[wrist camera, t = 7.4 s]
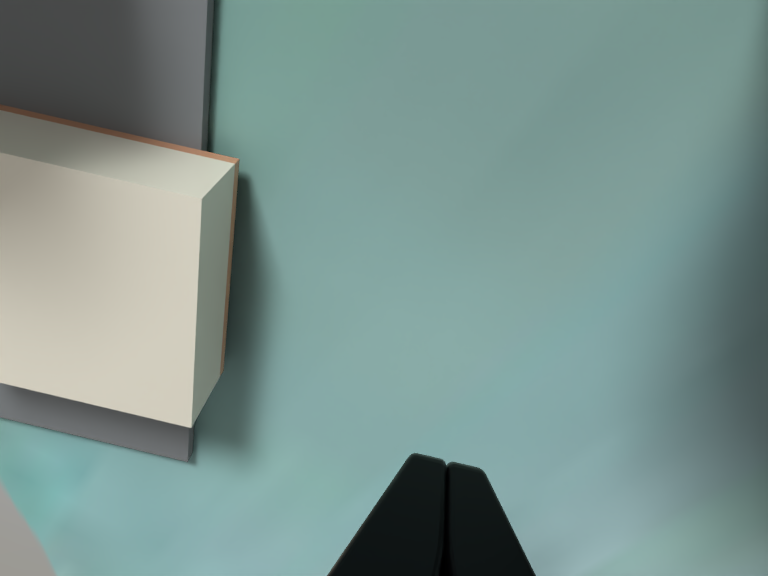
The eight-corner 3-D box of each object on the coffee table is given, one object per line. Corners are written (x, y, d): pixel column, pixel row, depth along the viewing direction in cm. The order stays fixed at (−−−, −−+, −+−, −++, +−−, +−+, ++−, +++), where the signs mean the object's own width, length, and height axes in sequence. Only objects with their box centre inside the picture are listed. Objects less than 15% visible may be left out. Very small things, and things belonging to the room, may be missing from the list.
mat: (215, -38, 17) (208, -36, 17) (192, 452, 27) (187, 461, 26) (-170, -123, 18) (-187, -124, 17) (-60, 392, 27) (-69, 400, 27)
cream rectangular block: (201, 198, 17) (-138, 120, 17) (191, 428, 21) (-83, 363, 21) (239, 158, 20) (-56, 91, 20) (223, 370, 24) (-21, 312, 24)
